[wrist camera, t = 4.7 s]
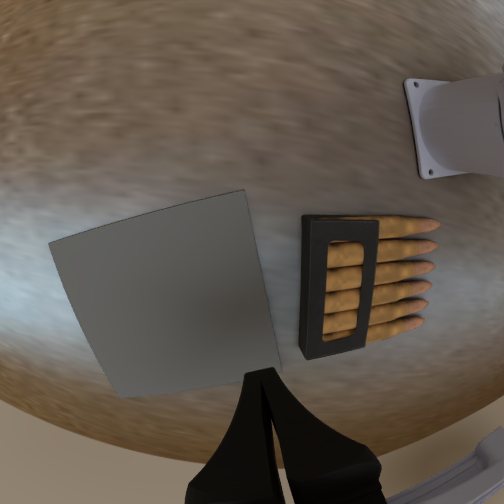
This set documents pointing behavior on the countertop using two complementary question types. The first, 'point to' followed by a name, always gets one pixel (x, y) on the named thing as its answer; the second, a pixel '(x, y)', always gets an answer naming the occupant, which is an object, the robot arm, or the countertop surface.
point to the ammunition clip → (359, 280)
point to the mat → (171, 297)
